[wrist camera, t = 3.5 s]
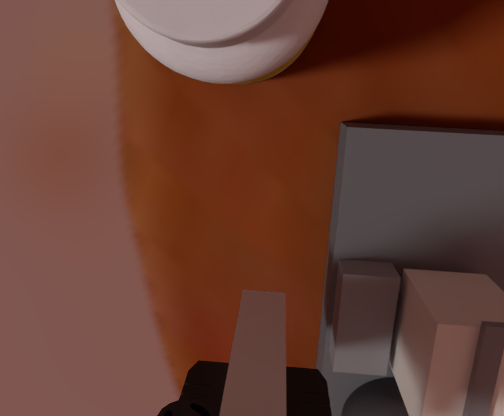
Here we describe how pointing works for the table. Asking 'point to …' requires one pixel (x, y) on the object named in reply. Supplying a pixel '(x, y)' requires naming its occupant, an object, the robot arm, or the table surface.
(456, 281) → the fader knob
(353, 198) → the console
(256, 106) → the table surface
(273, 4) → the supplement bottle
